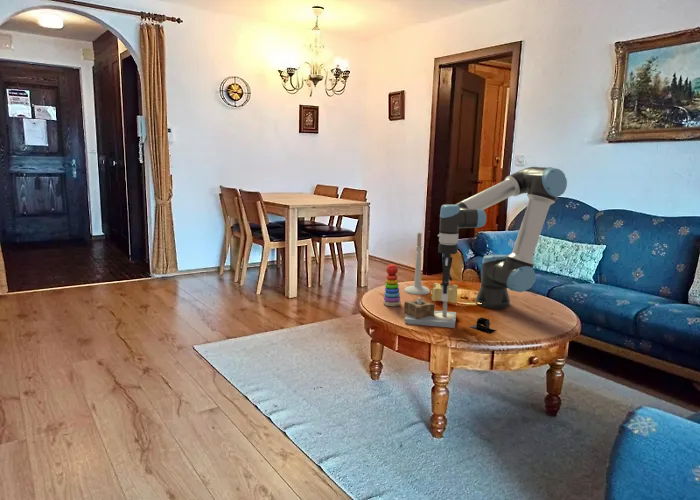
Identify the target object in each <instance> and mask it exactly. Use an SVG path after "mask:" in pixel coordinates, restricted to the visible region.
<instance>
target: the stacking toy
mask: <svg viewBox="0 0 700 500" xmlns="http://www.w3.org/2000/svg"><path fill="white" fill-rule="evenodd" d="M397 273H398V266H397V265H395V264H393V263H392V264H391V263H390V264H389V265H388V266H387V267H386V274H387V275H386V280H385V288H384V295H383V296H384V297H383V304H384V305H385V306H387V307H398V306H400V305H401V304H402V303H401V297H400V296H401V295H400V288H399V280H398V277H399V276H398V275H397Z"/></svg>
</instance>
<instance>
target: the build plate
mask: <svg viewBox="0 0 700 500" xmlns="http://www.w3.org/2000/svg"><path fill="white" fill-rule="evenodd" d="M490 325H491V322H490V319H488V318H484V317H480V318H477V320H476V324H475V325H472V326H469V328H470V329H474V330H476V331H479V332H482V333H486V334H488V335H491V334H492V333H494V332H497V331H498V330H497V329H494V328H490V327H491V326H490Z"/></svg>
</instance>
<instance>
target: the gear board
mask: <svg viewBox="0 0 700 500" xmlns="http://www.w3.org/2000/svg"><path fill="white" fill-rule="evenodd" d="M422 299H423V298H422V297H420V296H419V297H417V299H416V300H417V304H418V305H420V304H422ZM405 315H406V316H405V317H404V324H405V323H408V325H419V326H430V327H441V328H453V329H455V327H456V319H457V312H456V311H448V301H442V310H435V309H434V316H427V317H423V318H420V319H416V318H415V317H413V316H411V315H409V314H405Z"/></svg>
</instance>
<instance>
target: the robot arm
mask: <svg viewBox="0 0 700 500" xmlns="http://www.w3.org/2000/svg"><path fill="white" fill-rule="evenodd" d="M567 185H568V179H567V177H566V174H565V173H564V172H563V171H562V170H561V169H559V168H557V167H556V168H555V167H550V166H549V167H542V166H530V167H526V168H523V169H521V170H519V171H516V172H514V173H512V174H510V175H507V176H506V177H505V178H504V180H502V181H500V182H499V183H496V184H495V185H492V186H490V187H488V188H486V189H484V190H483V191H482V190H481V191H480V192H478V193H476V194H474V195H472V196H470V197H468V198H466V199H463V200H461V201H459V202H457V203H455V204H452V203H451V204H442V205H441V206H440V214H439V234H437V237H438V242H439V243H438V248H437V250H438V251H437V252H438V254H439V253H440V254H443V255H444V256H442V259H441V262H442V280H441V281H442V282H441V283H439V284H440V285H442V293H441V301H440V302H443V301H447V302H448V292H449V285H451V284H450V281H452V277H451V269H452V263H453V257H452V255H457V254H458V243H459V229H473V228H474V229H477V228H482V227H484V226H485V225H486V223H487V214H486V212H485V209H488V208H490V207H492V206H495V205H496V204H498V203H500V202H503V201H504V200H506V199H508V198H510V197H517V196H520V195H523V194H527V195H526V196H527V198H528V202H527V203H528V204H527V207H526V209H525V212H524V216H523V218H522V221H521V224H520V228H519V230H518V233H517V237H516V239H515V242H514V245H513V247H512V248H513V249H512V251H511V253H509V254H487V255H484V256H483V257H482V262H481V276H480V279H481V280H480V288H479V291H478V292H477V295H476V296H475V297H476V298H475V302H476V301H477V302H480V303H482V304H481V305H479V306H480V307H483V308H488V309H496V310H498V309H500V310H501V309H506V308H509V307H510V305H511V299H510V295H509V292H508V290H510V291H513V292H517V293H524V292H526V291H527V290H529V289H530V288H532V287H533V285H534V283H535V281H536V277H537V275H536V273H535V271H536V270H534V269H533V268H534V265H535V263H534V261H533V257H534V253H535V251H536V248H537V245H538V242H539V239H540V236H541V233H542V231H543V227H544V224H545V221H546V218H547V215H548V212H549V210H550V206H551V205H553V204H555V203H556V200H557V198H558V197H561V196H562V195H563V194H564V193H565V192H566V189H567Z"/></svg>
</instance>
